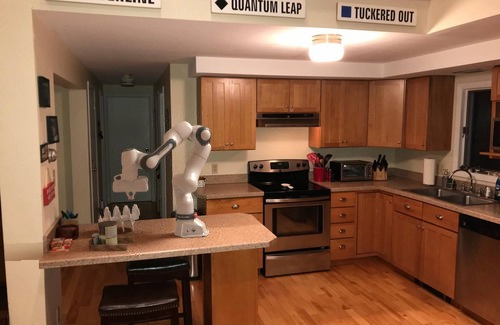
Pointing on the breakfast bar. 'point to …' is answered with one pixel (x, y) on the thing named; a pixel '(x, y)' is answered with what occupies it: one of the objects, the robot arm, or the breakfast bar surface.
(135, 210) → the white spiky piece
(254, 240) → the breakfast bar surface
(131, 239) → the brown tray
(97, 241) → the pusher
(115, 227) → the coffee can
